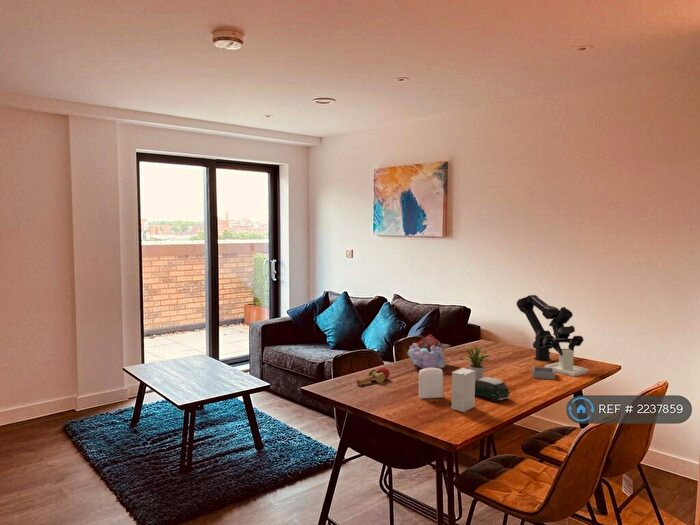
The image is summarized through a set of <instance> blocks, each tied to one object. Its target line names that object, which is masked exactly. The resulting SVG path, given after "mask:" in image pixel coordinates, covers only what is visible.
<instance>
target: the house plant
mask: <svg viewBox="0 0 700 525" xmlns="http://www.w3.org/2000/svg"><path fill="white" fill-rule="evenodd" d="M484 348H485V346H483V347H480V345H479V346H478V344H476V345H475V350H473V349H472V347H469V349H468V348H466V349H465V351H466V352H467V354H468V355H466V359H465V361H466V363H467V362H470V363H471V364H469V365H468V369H470V370H474V371H475V381H478V380H479V379H480V378H484V371H485V365H484V364H483V363H484V362H489V363H490V362H491V359H490V358H489V357H492V355H489V353H490V352H488V351H489V350H490V348H487V349H486V350H484V352H482V351H483V349H484ZM474 351H475V353H474ZM481 352H482V353H481ZM480 354H481V355H480Z"/></svg>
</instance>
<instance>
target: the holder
mask: <svg viewBox="0 0 700 525" xmlns="http://www.w3.org/2000/svg"><path fill="white" fill-rule="evenodd" d="M555 374H556V372H554V368H544V366H541V367H540V366H532V379H540V380H541V379H542V380H543V379H544V380H554V381H555V380H556V378H555V377H556V376H555Z"/></svg>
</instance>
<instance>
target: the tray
mask: <svg viewBox="0 0 700 525" xmlns="http://www.w3.org/2000/svg"><path fill="white" fill-rule="evenodd" d="M543 367H544V368H554V372H555V373H558V374H561V375H565V376H569V377H573V378H575V377H579V376H581V375H585V374H589V369H588V368H584V367H581V366H577V365H573V369H562V368H560V367H559V361H558V362H553V363H549V364H546V365H544V366H543Z"/></svg>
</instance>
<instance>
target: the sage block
mask: <svg viewBox="0 0 700 525" xmlns="http://www.w3.org/2000/svg"><path fill="white" fill-rule="evenodd" d="M561 350H562V354H563V355H562V356H561V355H560V354H559V353H558V362H559V367H560V368H562V369H573V366H574V358H575V357H574V355H575V354H574V352H575V351H573V350H571V349H569V348H561Z"/></svg>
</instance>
